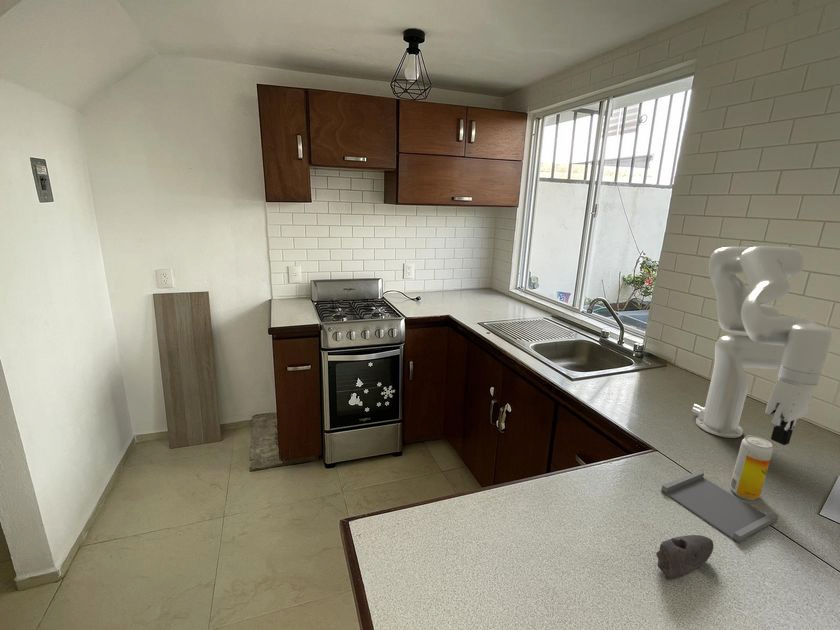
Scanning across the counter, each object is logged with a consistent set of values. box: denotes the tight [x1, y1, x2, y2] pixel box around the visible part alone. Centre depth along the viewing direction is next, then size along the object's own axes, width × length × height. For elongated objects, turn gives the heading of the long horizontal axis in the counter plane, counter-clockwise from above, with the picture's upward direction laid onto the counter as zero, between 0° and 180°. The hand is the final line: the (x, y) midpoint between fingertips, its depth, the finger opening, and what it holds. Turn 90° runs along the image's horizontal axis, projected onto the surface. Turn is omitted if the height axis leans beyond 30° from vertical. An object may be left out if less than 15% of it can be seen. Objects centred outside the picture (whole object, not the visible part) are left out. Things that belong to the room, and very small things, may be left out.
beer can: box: [729, 434, 774, 501], centre depth 104 cm, size 6×6×15 cm
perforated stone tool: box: [655, 534, 714, 581], centre depth 83 cm, size 15×5×7 cm, turn 111°
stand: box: [660, 470, 779, 544], centre depth 101 cm, size 18×15×2 cm
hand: (779, 441), depth 106 cm, fingers closed
